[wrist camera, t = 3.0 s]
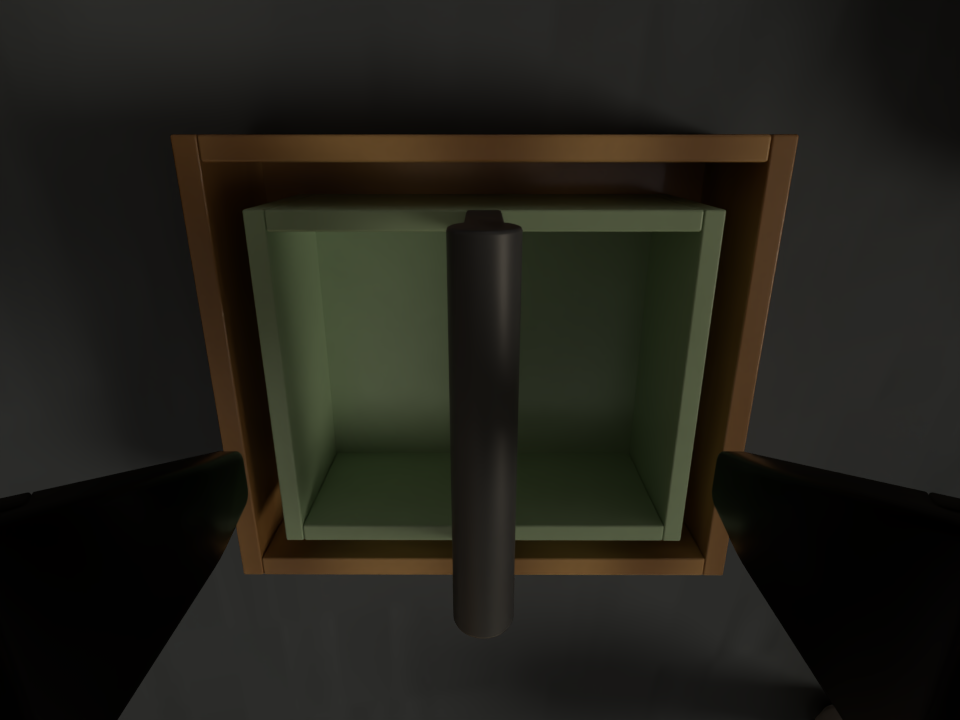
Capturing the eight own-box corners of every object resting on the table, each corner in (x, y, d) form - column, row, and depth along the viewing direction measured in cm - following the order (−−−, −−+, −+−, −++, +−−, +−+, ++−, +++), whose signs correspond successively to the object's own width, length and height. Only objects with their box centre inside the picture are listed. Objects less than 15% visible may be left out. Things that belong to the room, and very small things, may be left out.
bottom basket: (290, 490, 22) (243, 574, 18) (244, 136, 18) (169, 134, 13) (676, 491, 22) (723, 576, 17) (723, 136, 17) (799, 134, 13)
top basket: (325, 459, 21) (237, 639, 13) (299, 194, 18) (162, 230, 10) (640, 460, 21) (729, 640, 13) (668, 193, 18) (807, 231, 10)
